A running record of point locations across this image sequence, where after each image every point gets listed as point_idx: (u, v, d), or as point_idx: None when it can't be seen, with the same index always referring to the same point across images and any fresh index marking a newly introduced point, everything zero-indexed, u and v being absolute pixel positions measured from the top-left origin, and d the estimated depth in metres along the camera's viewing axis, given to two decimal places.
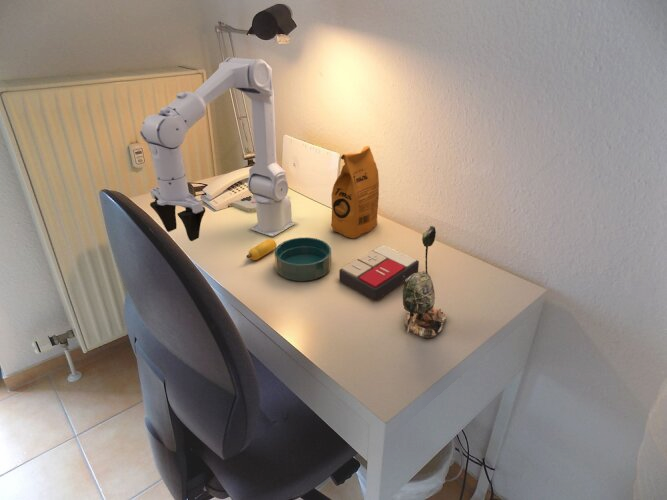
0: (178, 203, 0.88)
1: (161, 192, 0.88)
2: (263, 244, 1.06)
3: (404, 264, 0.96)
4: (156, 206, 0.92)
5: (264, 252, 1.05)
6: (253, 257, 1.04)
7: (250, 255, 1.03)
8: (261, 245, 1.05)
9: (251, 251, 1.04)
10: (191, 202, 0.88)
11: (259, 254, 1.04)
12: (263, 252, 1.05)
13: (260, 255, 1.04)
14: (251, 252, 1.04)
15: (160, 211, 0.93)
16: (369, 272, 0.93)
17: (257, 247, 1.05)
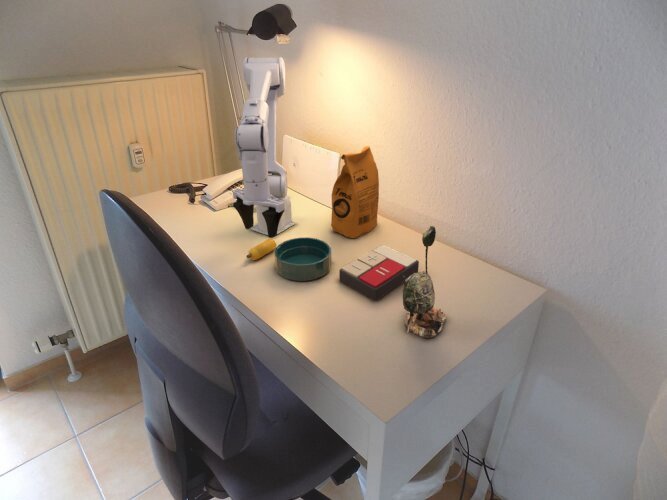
0: (263, 203, 0.97)
1: (247, 193, 0.97)
2: (263, 244, 1.06)
3: (404, 264, 0.96)
4: (239, 206, 1.01)
5: (264, 252, 1.05)
6: (253, 257, 1.04)
7: (250, 255, 1.03)
8: (261, 245, 1.05)
9: (251, 251, 1.04)
10: (274, 202, 0.97)
11: (259, 254, 1.04)
12: (263, 252, 1.05)
13: (260, 255, 1.04)
14: (251, 252, 1.04)
15: (242, 210, 1.02)
16: (369, 272, 0.93)
17: (257, 247, 1.05)
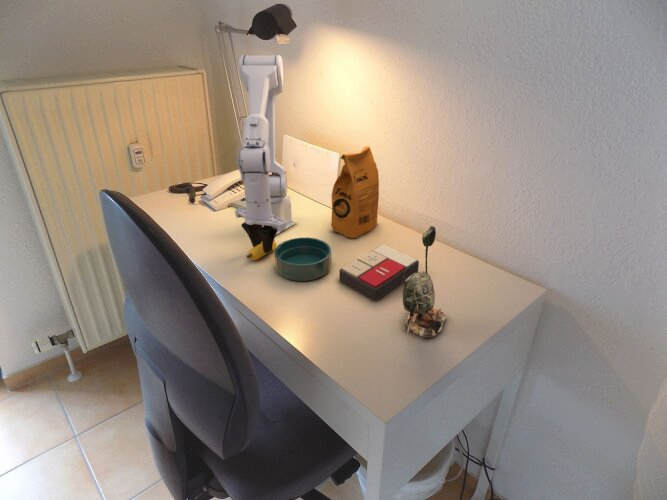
0: (265, 223, 0.99)
1: (249, 213, 1.00)
2: None
3: (404, 264, 0.96)
4: (248, 227, 1.03)
5: (264, 252, 1.05)
6: (253, 257, 1.04)
7: (250, 255, 1.03)
8: (261, 245, 1.05)
9: (251, 251, 1.04)
10: (276, 222, 1.00)
11: (259, 254, 1.04)
12: (263, 252, 1.05)
13: (260, 255, 1.04)
14: (251, 252, 1.04)
15: (250, 231, 1.04)
16: (369, 272, 0.93)
17: (257, 247, 1.05)
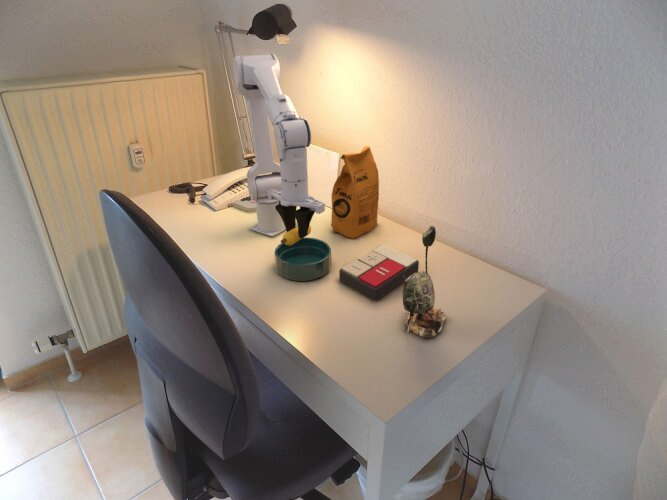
0: (302, 204, 0.91)
1: (285, 193, 0.92)
2: None
3: (404, 264, 0.96)
4: (282, 209, 0.95)
5: (299, 237, 0.97)
6: (288, 242, 0.96)
7: (285, 240, 0.95)
8: (296, 229, 0.97)
9: (285, 236, 0.96)
10: (314, 203, 0.92)
11: (294, 239, 0.96)
12: (298, 237, 0.97)
13: (295, 240, 0.96)
14: (285, 237, 0.95)
15: (285, 214, 0.96)
16: (369, 272, 0.93)
17: (292, 231, 0.96)
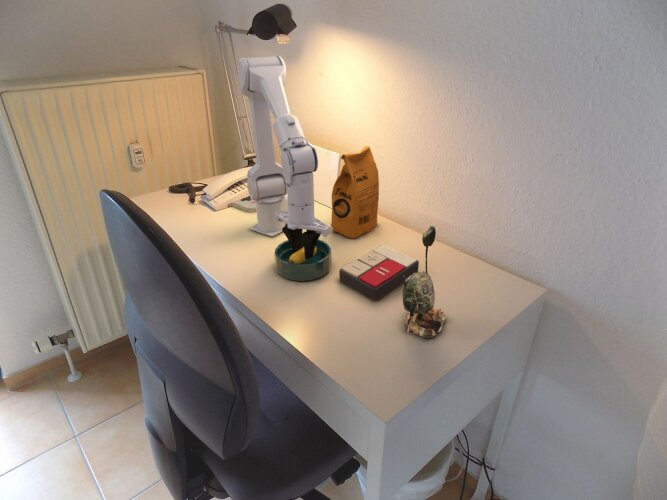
0: (308, 227, 0.93)
1: (292, 217, 0.94)
2: None
3: (404, 264, 0.96)
4: (289, 231, 0.97)
5: (305, 258, 0.99)
6: None
7: (291, 261, 0.97)
8: (302, 251, 0.99)
9: (292, 257, 0.97)
10: (320, 226, 0.94)
11: (300, 260, 0.98)
12: (304, 258, 0.99)
13: (301, 261, 0.98)
14: (292, 258, 0.97)
15: (291, 236, 0.98)
16: (369, 272, 0.93)
17: (298, 253, 0.98)
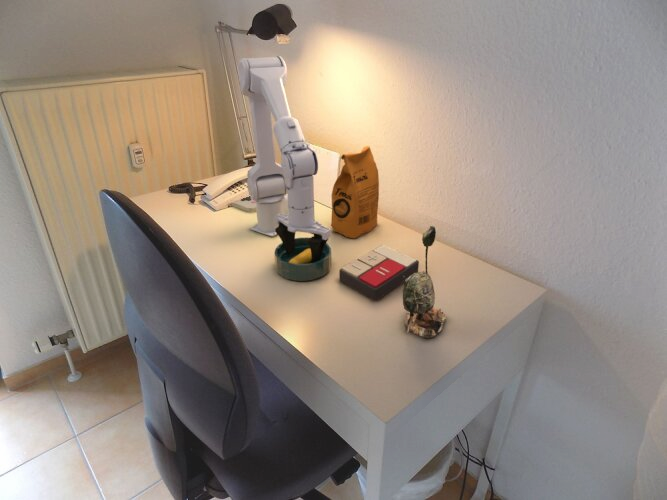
0: (308, 230, 0.94)
1: (292, 220, 0.94)
2: (301, 254, 1.01)
3: (404, 264, 0.96)
4: (282, 232, 0.98)
5: (304, 261, 1.00)
6: None
7: None
8: (299, 255, 1.00)
9: (290, 262, 0.99)
10: (320, 229, 0.94)
11: (299, 263, 0.99)
12: (303, 261, 1.00)
13: None
14: None
15: (284, 236, 0.99)
16: (369, 272, 0.93)
17: (295, 257, 1.00)
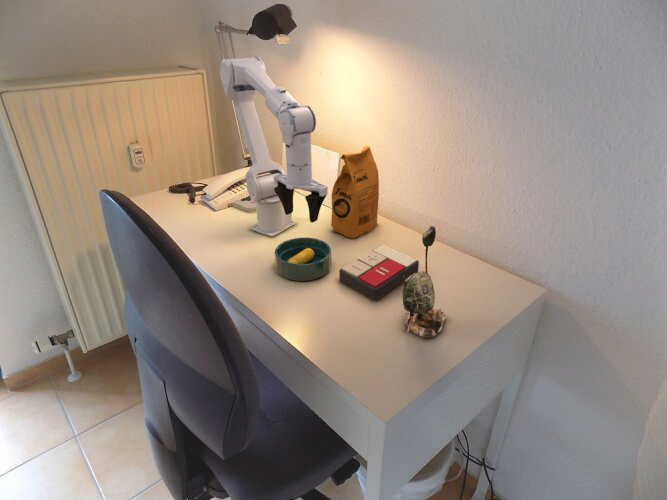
0: (306, 187, 0.97)
1: (290, 177, 0.97)
2: (299, 253, 1.01)
3: (404, 264, 0.96)
4: (281, 191, 1.01)
5: (302, 260, 1.00)
6: None
7: None
8: (297, 254, 1.01)
9: None
10: (317, 186, 0.97)
11: (297, 262, 0.99)
12: (301, 260, 1.00)
13: (298, 263, 0.99)
14: None
15: (283, 195, 1.02)
16: (369, 272, 0.93)
17: (293, 257, 1.00)
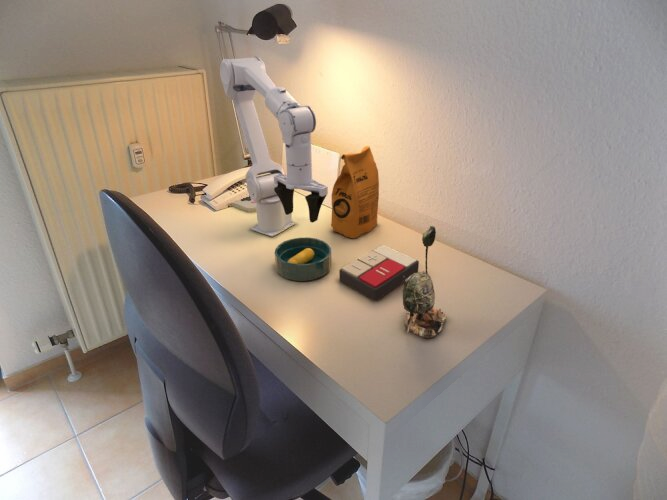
0: (306, 187, 0.97)
1: (290, 177, 0.97)
2: (299, 253, 1.01)
3: (404, 264, 0.96)
4: (281, 191, 1.01)
5: (302, 260, 1.00)
6: None
7: None
8: (297, 254, 1.01)
9: None
10: (317, 186, 0.97)
11: (297, 262, 0.99)
12: (301, 260, 1.00)
13: (298, 263, 0.99)
14: None
15: (283, 195, 1.02)
16: (369, 272, 0.93)
17: (293, 257, 1.00)
